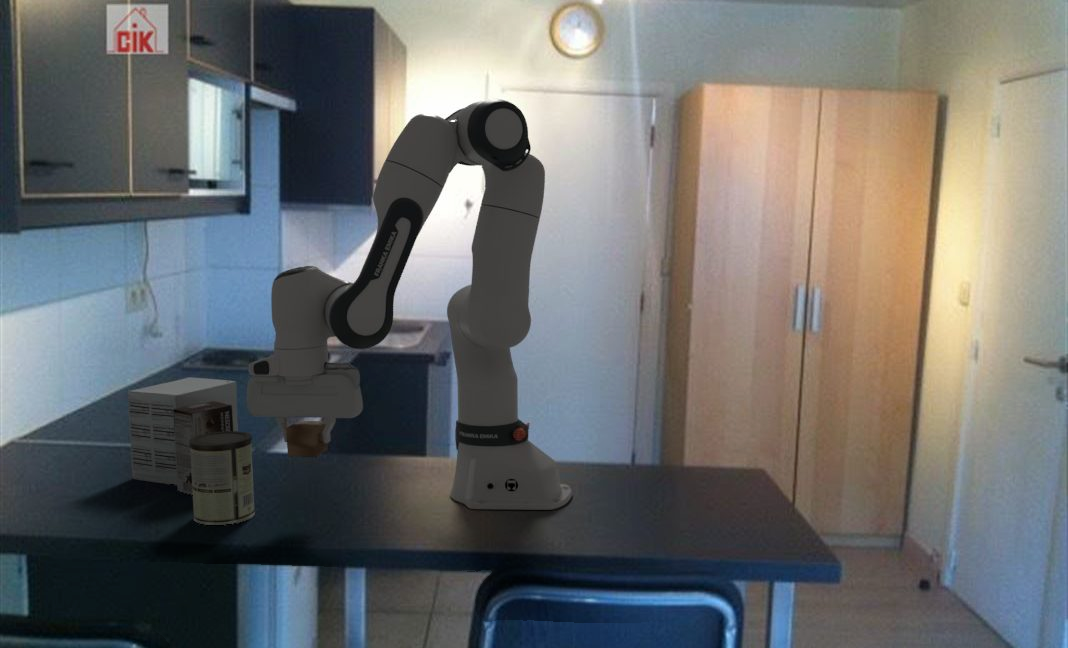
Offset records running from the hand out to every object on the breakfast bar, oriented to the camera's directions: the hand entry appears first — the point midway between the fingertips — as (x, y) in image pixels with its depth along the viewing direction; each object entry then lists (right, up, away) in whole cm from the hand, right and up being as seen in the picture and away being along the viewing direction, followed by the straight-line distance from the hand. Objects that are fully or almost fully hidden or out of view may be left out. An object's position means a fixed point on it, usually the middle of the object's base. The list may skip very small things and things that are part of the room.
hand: (307, 442), depth 166 cm
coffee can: (-15, -13, +2) cm, 20 cm away
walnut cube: (0, -2, 0) cm, 2 cm away
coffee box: (-24, -12, +19) cm, 33 cm away
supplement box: (-32, -10, +32) cm, 46 cm away
